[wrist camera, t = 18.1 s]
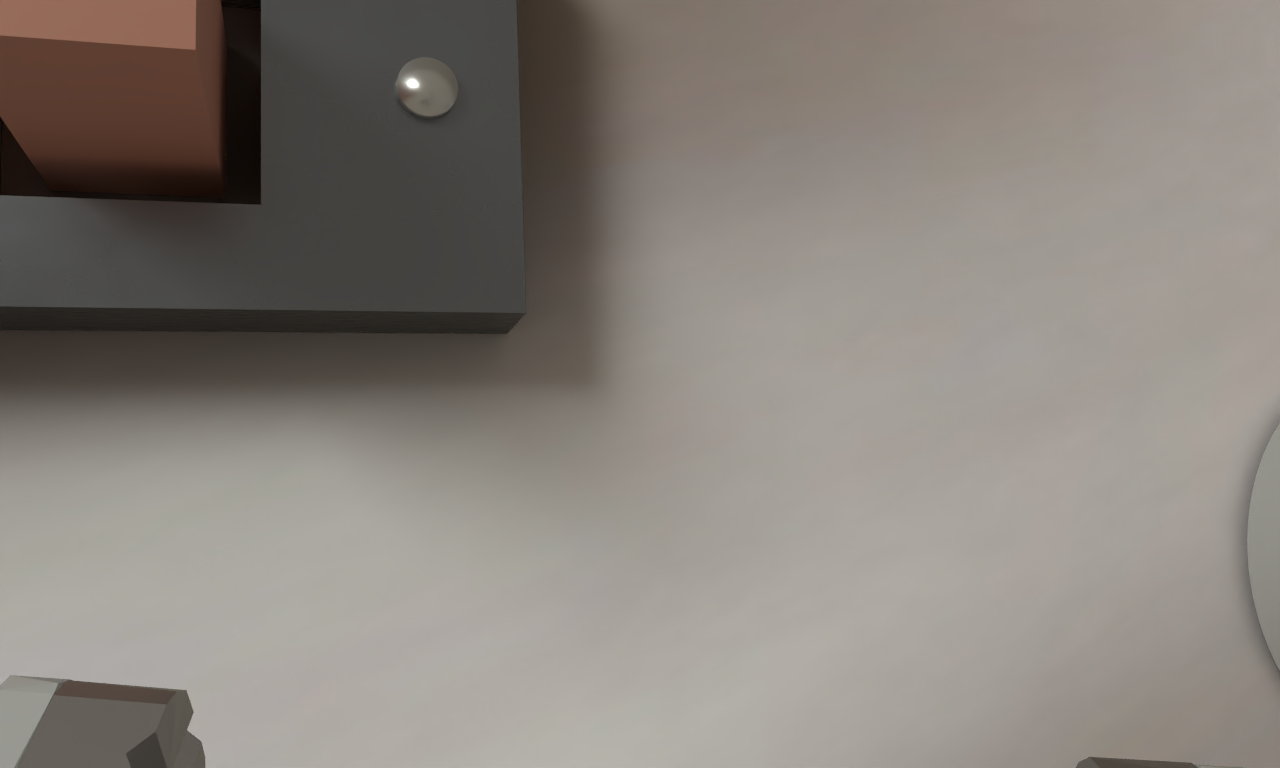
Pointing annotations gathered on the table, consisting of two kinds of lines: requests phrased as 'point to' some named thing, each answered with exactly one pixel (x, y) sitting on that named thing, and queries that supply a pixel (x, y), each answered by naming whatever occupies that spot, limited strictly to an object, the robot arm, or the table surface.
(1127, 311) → the table surface
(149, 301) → the block with square hole
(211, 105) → the square peg
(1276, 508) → the robot arm
